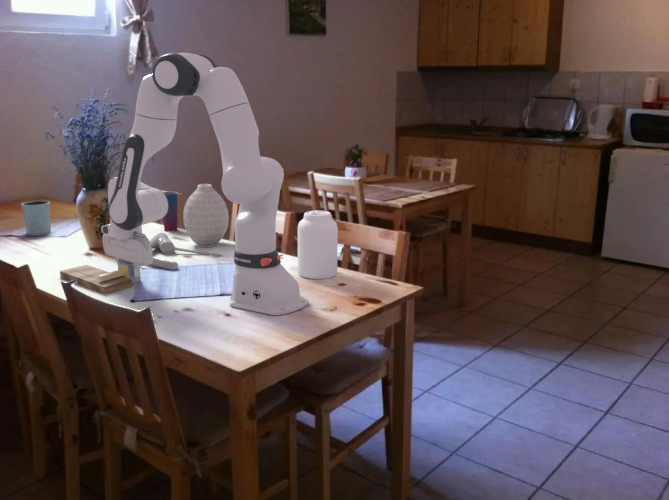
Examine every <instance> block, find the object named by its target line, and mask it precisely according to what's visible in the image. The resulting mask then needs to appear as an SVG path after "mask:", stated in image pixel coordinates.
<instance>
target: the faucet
mask: <svg viewBox="0 0 669 500" xmlns="http://www.w3.org/2000/svg"><path fill="white" fill-rule="evenodd" d="M149 241H150V243H151V248H152V250H153V249H159V250H160V251H161V253H162V254H163V255H170V254H174V253H175V251H180V252H186V253H190V254H191V253H193V254H197V255H205V256H211V257H212V258H214V259H215V258H220V257H221V255H219V254H216V253H212V252H206V251H201V250H193V249H186V248H180V247H177V246H176V247H175V244H174V243H173V241H172V240H171V239H170V238H169V236H168V235H167V234H166V233H165V232H159V233H157V234H156V235H154V236H153V237H152V238H151V239H150V240H149ZM151 265H152V266H154V267H157V268H160V269H163V270H170V271H175V270H177V269H178V267H179V263H178V262H176V261H168V260H166V259H162V258H159V257H156V256H154V255H153V262H152V264H151Z"/></svg>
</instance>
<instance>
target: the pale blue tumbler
mask: <svg viewBox="0 0 669 500" xmlns="http://www.w3.org/2000/svg"><path fill="white" fill-rule="evenodd" d="M20 206H21V208H22V214H23V219H24V225H25V231H26V234H27V235H29V236H43V235H49V234H50V233H51V232H52V229H51V201H49V200H30V201H29V200H28V201H24V202H22V203H21V204H20Z"/></svg>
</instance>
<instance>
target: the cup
mask: <svg viewBox="0 0 669 500" xmlns="http://www.w3.org/2000/svg"><path fill="white" fill-rule="evenodd" d="M162 192H163V193H164V194H165V195H166V197H167V199H168V203H169V208H168V212H167V214H166V216H165V217H163V218H162V221H163V230H164V231H166V232H175V231H177V230H178V207H179V206H178V200H179V198H178V195H179V194H178V191H162Z"/></svg>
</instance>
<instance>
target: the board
mask: <svg viewBox="0 0 669 500" xmlns="http://www.w3.org/2000/svg"><path fill="white" fill-rule="evenodd" d="M109 272H110V271H107V270H103V269H101V268H97V267H95V266H92V265H88V264H84V265H80V266H75V267H72V268H71V267H70V268H66V269H63V270H59V276H60V278H61V279H64V280H67V281H70V282H72V281H71V280H75V279H76V280H77V283H76V284H77V285H80V286H82V287H85V288H88V289H91V290H93V291H96V292H99V293H102V294H103V295H104V294H105V295H106V294H110V293H113V292H117V291H120V290H124V289H128V288H131V287H133V283H132V280H130V279H127V278H124V277H122V276H120V277H116V278H112V279H108V280H105V281H99V280H98V275H101V274H105V273H109Z"/></svg>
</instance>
